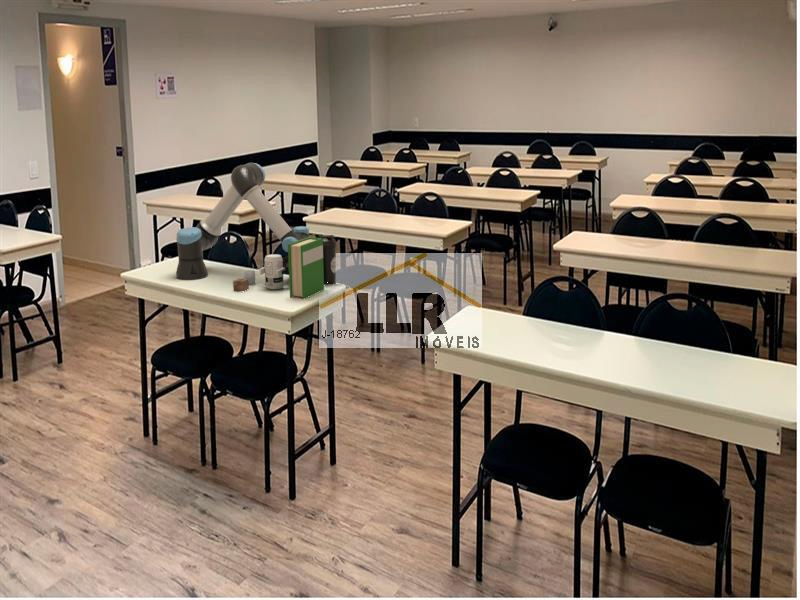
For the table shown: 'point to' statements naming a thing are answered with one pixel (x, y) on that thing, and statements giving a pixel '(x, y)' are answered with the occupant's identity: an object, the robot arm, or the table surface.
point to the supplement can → (273, 271)
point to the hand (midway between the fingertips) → (268, 272)
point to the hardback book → (306, 267)
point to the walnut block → (240, 284)
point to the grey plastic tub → (250, 277)
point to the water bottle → (329, 259)
